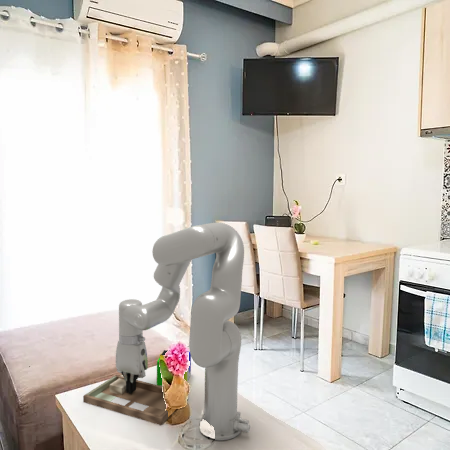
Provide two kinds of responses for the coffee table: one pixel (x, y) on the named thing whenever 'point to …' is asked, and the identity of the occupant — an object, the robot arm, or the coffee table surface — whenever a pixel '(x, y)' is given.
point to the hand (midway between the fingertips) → (131, 391)
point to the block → (118, 387)
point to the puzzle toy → (159, 379)
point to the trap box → (131, 400)
